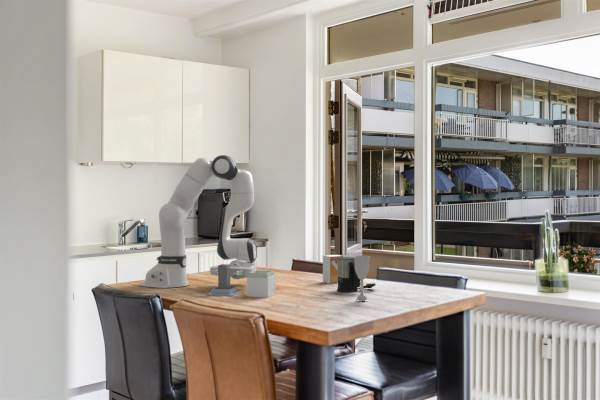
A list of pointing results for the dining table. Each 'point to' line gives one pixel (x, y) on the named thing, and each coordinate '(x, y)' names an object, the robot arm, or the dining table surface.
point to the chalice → (361, 272)
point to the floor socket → (224, 291)
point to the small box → (330, 268)
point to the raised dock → (260, 283)
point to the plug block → (224, 276)
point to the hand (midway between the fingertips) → (225, 273)
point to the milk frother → (348, 275)
